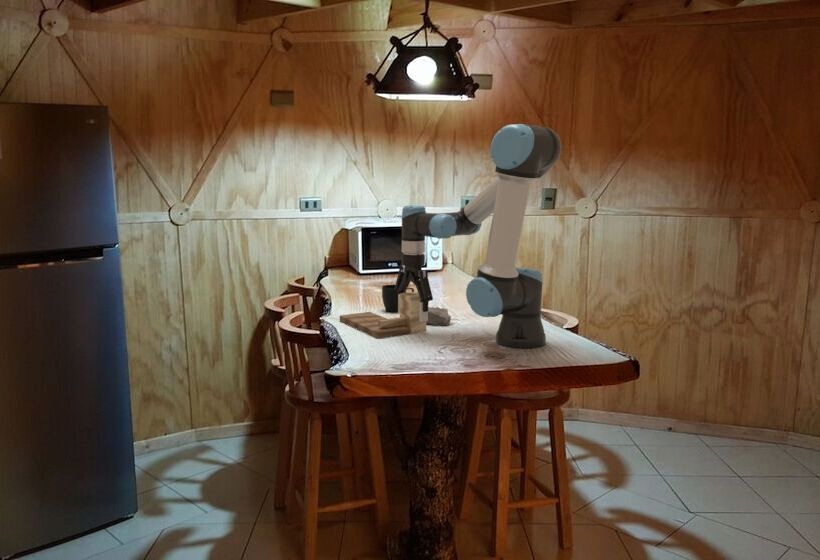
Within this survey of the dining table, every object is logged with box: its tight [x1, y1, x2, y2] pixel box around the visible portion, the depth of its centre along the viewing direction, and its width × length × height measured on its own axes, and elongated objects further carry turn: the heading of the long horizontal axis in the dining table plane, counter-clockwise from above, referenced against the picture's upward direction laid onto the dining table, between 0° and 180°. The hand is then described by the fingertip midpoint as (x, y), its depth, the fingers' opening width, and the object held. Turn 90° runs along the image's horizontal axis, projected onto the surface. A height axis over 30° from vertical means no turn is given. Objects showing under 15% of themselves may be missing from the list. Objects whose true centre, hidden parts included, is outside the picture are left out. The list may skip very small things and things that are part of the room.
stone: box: [426, 306, 452, 326], centre depth 215 cm, size 10×8×6 cm
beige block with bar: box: [378, 291, 427, 334], centre depth 203 cm, size 7×16×12 cm, turn 121°
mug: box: [381, 284, 415, 314], centre depth 235 cm, size 8×12×10 cm
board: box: [339, 311, 411, 339], centre depth 210 cm, size 28×12×2 cm, turn 31°
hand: (412, 317), depth 206 cm, fingers open, 13 cm apart
